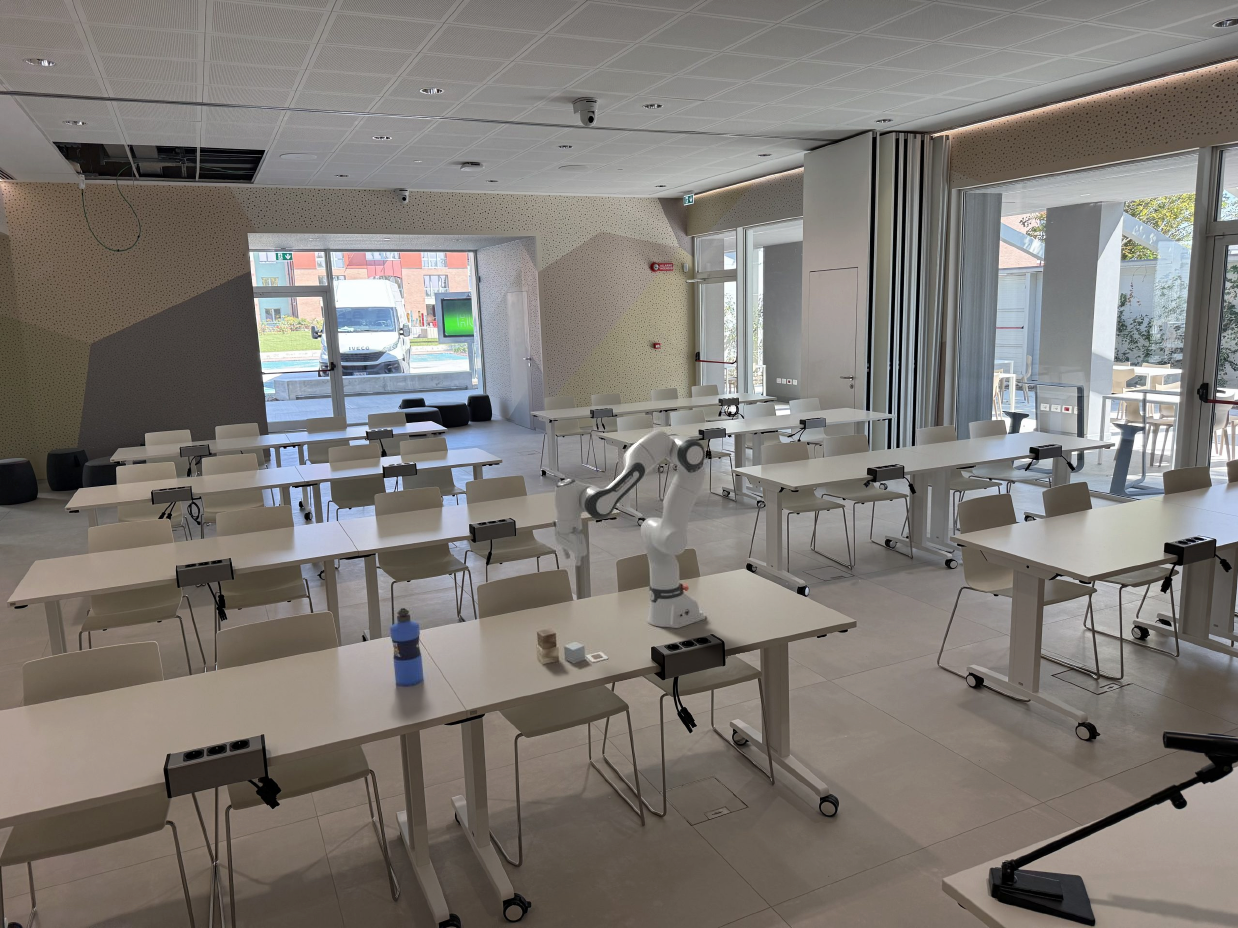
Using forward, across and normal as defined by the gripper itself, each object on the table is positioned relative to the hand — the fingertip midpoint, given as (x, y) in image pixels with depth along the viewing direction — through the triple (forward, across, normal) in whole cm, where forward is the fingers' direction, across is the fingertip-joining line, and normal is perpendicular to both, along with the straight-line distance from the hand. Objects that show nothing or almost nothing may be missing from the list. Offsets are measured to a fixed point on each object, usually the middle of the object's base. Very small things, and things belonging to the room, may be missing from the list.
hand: (572, 561), depth 304 cm
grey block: (+30, -15, +8) cm, 34 cm away
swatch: (+30, -18, +1) cm, 35 cm away
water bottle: (+28, -1, +62) cm, 68 cm away
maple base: (+29, -10, +16) cm, 35 cm away
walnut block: (+24, -10, +16) cm, 31 cm away
